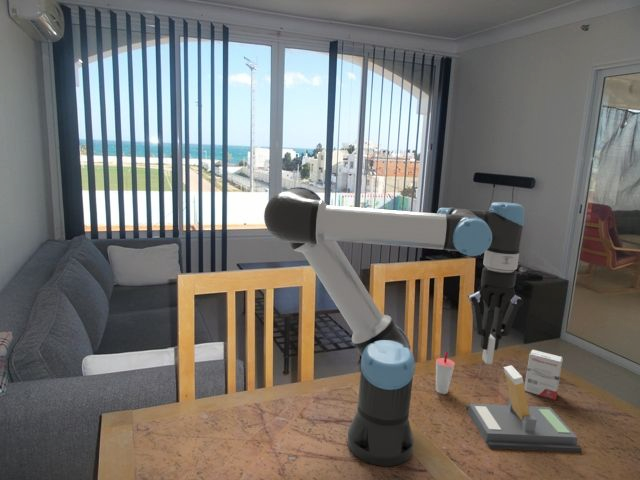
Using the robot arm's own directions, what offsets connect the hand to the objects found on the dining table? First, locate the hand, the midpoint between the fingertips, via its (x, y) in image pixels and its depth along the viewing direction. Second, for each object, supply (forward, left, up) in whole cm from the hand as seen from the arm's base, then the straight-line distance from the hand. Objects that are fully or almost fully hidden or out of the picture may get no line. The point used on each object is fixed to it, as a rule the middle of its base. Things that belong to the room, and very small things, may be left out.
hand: (487, 361), depth 113 cm
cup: (-4, +17, -18) cm, 25 cm away
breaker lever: (+11, 0, -14) cm, 17 cm away
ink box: (+26, +19, -18) cm, 37 cm away
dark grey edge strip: (+11, -8, -18) cm, 22 cm away
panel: (+11, 0, -18) cm, 21 cm away
